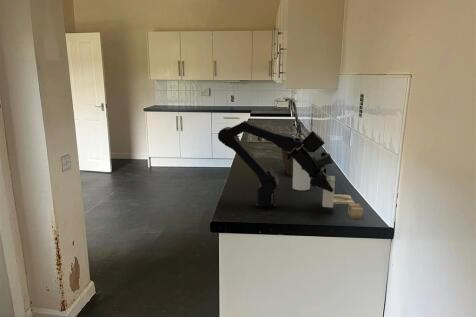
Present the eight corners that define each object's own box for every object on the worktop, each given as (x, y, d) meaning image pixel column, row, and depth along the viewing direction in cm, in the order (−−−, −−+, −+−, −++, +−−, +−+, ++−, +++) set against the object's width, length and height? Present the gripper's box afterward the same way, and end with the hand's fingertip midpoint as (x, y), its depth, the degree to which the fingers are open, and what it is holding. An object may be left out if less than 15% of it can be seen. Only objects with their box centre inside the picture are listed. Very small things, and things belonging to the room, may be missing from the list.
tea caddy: (322, 206, 139) (324, 179, 137) (322, 201, 145) (323, 175, 142) (333, 207, 138) (335, 180, 136) (332, 202, 144) (334, 176, 141)
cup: (299, 184, 176) (300, 153, 173) (313, 188, 170) (314, 155, 167) (289, 188, 171) (289, 155, 168) (302, 191, 165) (304, 157, 162)
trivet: (354, 204, 149) (354, 202, 149) (330, 203, 150) (330, 201, 150) (349, 196, 159) (349, 194, 159) (326, 196, 160) (326, 194, 160)
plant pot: (285, 170, 204) (286, 142, 200) (311, 173, 198) (312, 144, 194) (276, 176, 191) (277, 147, 187) (303, 179, 185) (304, 149, 181)
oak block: (362, 219, 134) (363, 209, 133) (351, 219, 134) (352, 209, 134) (358, 213, 140) (359, 203, 139) (348, 213, 140) (348, 203, 139)
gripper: (321, 151, 128) (350, 183, 128) (320, 142, 146) (346, 170, 146) (298, 171, 132) (326, 201, 132) (300, 160, 149) (325, 186, 149)
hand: (332, 189), depth 140 cm, fingers closed on tea caddy, 5 cm apart
